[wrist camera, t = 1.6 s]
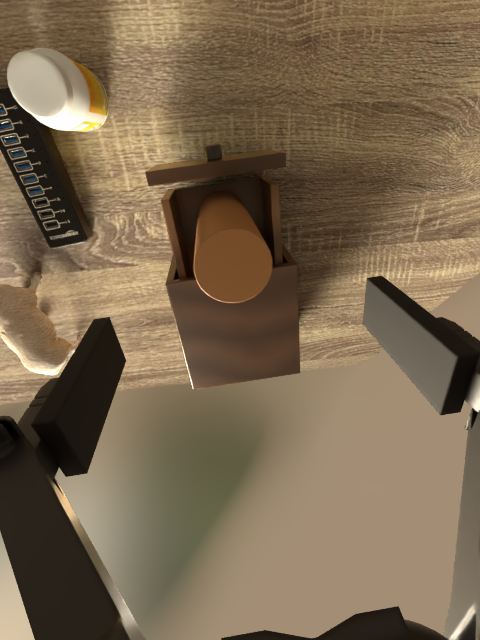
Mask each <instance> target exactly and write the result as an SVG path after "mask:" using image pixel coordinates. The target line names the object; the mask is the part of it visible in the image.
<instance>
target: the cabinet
mask: <svg viewBox="0 0 480 640" xmlns="http://www.w3.org/2000/svg"><path fill="white" fill-rule="evenodd" d="M282 258H283V264H278V265H272V273H271V276H270V279H269V281H268V283H267V285H266V286H265V287H264V289H263V290H262V291H261V292H260V293H258V294H257V295H256V296H254V297H253V298H251V299H249V300H246V301H243V302H239V303H226V302H221V301H218V300H216V299H214V298H212V297H210V296H209V295H207V294H206V293H205V292H204V291H203V290H202V289H201V287H200V286H199V284H198V283H197V280H196V278H195V277H191V278H184V279H179V276H178V272H177V268H176V263H175V259H174V255H173V258H172V261H171V265H170V269H169V273H168V277H167V281H166V288H167V292H168V296H169V299H170V303H171V307H172V311H173V315H174V318H175V322H176V326H177V330H178V334H179V337H180V341H181V345H182V349H183V353H184V356H185V360H186V364H187V368H188V372H189V375H190V379H191V383H192V387H193V389H194V390H195V389H201V388H208V387H213V386H220V385H227V384H233V383H240V382H245V381H252V380H259V379H265V378H271V377H278V376H284V375H291V374H297V373H300V350H299V309H298V268H297V263H296V262H295V260H294V259H293V258H292V256H291V255H290V253H289V252H288V251H287V249H286V248H285V246H284V245H283V244H282Z"/></svg>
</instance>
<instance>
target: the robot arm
mask: <svg viewBox="0 0 480 640" xmlns="http://www.w3.org/2000/svg"><path fill="white" fill-rule="evenodd" d="M363 325H364V326H365V327H366V328H367V330H368V331H369V332H370V333H371V334H372V335H373V337H374V338H375V339H376V340H377V341H378V343H379V344H380V345H381V346H382V347H383V348H384V350H385V351H386V352H387V353H388V354H389V355H390V356H391V358H392V359H393V360H394V361H395V362H396V364H397V365H398V366H399V367H400V368H401V369H402V371H403V372H404V373H405V374H406V375H407V377H408V378H409V379H410V380H411V381H412V383H413V384H414V385H415V386H416V387H417V388H418V390H420V392H421V393H422V394H423V395H424V397H425V398H426V399H427V400H428V401H429V403H430V404H431V405H432V406H433V407H434V408H435V410H436V411H437V412H438V413H439V414H440V415H445V414H452V413H458V412H461V409H462V406H463V403H464V400H465V401H466V402H467V403H468V404H469V405H470V406H471V407H472V410H471V413H470V415H469V418H468V421H467V424H466V426H465V429H466V430H468V437H467V447H466V457H465V467H464V475H463V485H462V496H461V505H460V515H459V524H458V534H457V543H456V554H455V563H454V573H453V583H452V592H451V601H450V606H449V610H448V614H447V618H446V621H445V626H444V632H443V635H441V634H439V633H438V632H436V631H434V630H432V629H430V628H428V627H425V626H423V625H421V624H418V623H415V622H412V621H409V620H404V619H403V616H402V614H401V611H400V609H399V607H392V608H387V609H381V610H375V611H370V612H364V613H359V614H355V615H353V616H352V617H350V618H349V619H347V620H345V621H343V622H342V623H340V624H338V625H337V626H335V627H334V628H332V629H330V630H329V631H327V632H325V633H324V634H322V635H320V636H319V637H317V638H305V637H300V636H294V635H289V634H283V633H277V632H272V631H266V630H264V631H259V632H253V633H247V634H242V635H236V636H231V637H225V638H221V640H480V341H479V340H478V339H476V338H475V337H472V335H471V334H470V333H468V332H467V331H464V329H463V328H462V327H460V326H458V325H457V324H456V323H455V322H452V321H450V320H447V319H445V318H443V317H440V318H435V317H434V316H433V315H431V314H430V313H429V312H428V311H426V310H425V309H424V308H422V307H421V306H420V305H419V304H417V303H416V302H415V301H413V300H412V299H411V298H410V297H408V296H407V295H406V294H404V293H403V292H402V291H401V290H399V289H398V288H397V287H396V286H394V285H393V284H392V283H390V282H389V281H388V280H387V279H385V278H384V277H383V276H377V277H370V278H367V284H366V295H365V305H364V315H363ZM125 362H126V359H125V356H124V354H123V351H122V349H121V346H120V343H119V341H118V338H117V336H116V333H115V330H114V328H113V325H112V323H111V320H110V318H109V317H106V318H100V319H94V320H93V322H92V323H91V325H90V327H89V328H88V330H87V332H86V333H85V335H84V337H83V338H82V340H81V342H80V343H79V345H78V347H77V348H76V350H75V352H74V353H73V355H72V357H71V358H70V360H69V362H68V363H67V365H66V367H65V368H64V370H63V372H62V373H61V375H60V377H59V378H53V379H50V380H49V381H48V382H47V383H46V384H45V385H44V386H42V387H41V388H40V390H39V391H38V393H37V394H36V396H35V399H34V400H33V401H32V402H31V404H30V405H29V408H28V409H27V410H26V412H25V413H24V415H23V416H22V418H21V419H20V421H19V422H18V424H16V422H15V421H14V420H13V418H11V417H10V416H0V531H1V534H2V538H3V541H4V544H5V547H6V550H7V553H8V556H9V559H10V563H11V566H12V569H13V572H14V575H15V578H16V581H17V584H18V588H19V591H20V594H21V597H22V601H23V603H24V607H25V610H26V613H27V616H28V619H29V623H30V626H31V628H32V632H33V635H34V638H35V640H146V639H145V637H144V636H143V634H142V632H141V630H140V628H139V627H138V625H137V623H136V621H135V620H134V618H133V616H132V614H131V612H130V610H129V609H128V607H127V605H126V603H125V602H124V600H123V598H122V597H121V595H120V593H119V591H118V589H117V587H116V585H115V584H114V582H113V580H112V578H111V576H110V575H109V573H108V571H107V569H106V568H105V566H104V564H103V562H102V560H101V559H100V557H99V555H98V553H97V551H96V550H95V548H94V546H93V544H92V542H91V541H90V539H89V537H88V535H87V534H86V532H85V530H84V528H83V526H82V525H81V523H80V521H79V519H78V518H77V516H76V514H75V512H74V510H73V509H72V507H71V505H70V503H69V502H68V499H67V498H66V496H65V494H64V492H63V491H62V489H61V487H60V485H59V483H58V482H57V480H56V479H55V478H54V477H55V475H56V473H57V471H58V468H59V467H60V469H61V470H62V472H63V473H64V475H65V476H66V477H67V476H73V475H80V474H85V473H87V472H88V469H89V466H90V463H91V460H92V458H93V455H94V452H95V449H96V446H97V443H98V440H99V437H100V434H101V432H102V429H103V426H104V423H105V420H106V417H107V414H108V411H109V408H110V406H111V403H112V400H113V397H114V394H115V391H116V388H117V385H118V383H119V380H120V377H121V374H122V371H123V368H124V365H125Z"/></svg>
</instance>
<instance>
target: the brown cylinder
mask: <svg viewBox="0 0 480 640" xmlns="http://www.w3.org/2000/svg"><path fill="white" fill-rule="evenodd" d="M271 273H272V256H271V252H270V250H269V248H268V246H267V244H266V243H265V241H264V239H263V237H262V236H261V234H260V232H259V230H258V228H257V227H256V225H255V223H254V221H253V220H252V218H251V216H250V214H249V213H248V211H247V209H246V207H245V206H244V204H243V202H242V201H241V200H240V199H239V198H238V197H237V196H236V195H234V194H232V193H230V192H226V191H218V192H214V193H212V194H210V195H208V196H207V197H206V198H205V199H204V200H203V201H202V203H201V205H200V207H199V210H198V218H197V229H196V241H195V253H194V274H195V278H196V280H197V283H198V284H199V286H200V287H201V289H202V290H203V291H204V292H205V293H206V294H207V295H209V296H210V297H212V298H214V299H216V300H218V301H221V302H226V303H239V302H243V301H246V300H249V299H251V298H253V297H254V296H256V295H257V294H258V293H260V292H261V291H262V290H263V289H264V287H265V286H266V285H267V283H268V281H269V279H270V276H271Z"/></svg>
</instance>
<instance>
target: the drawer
mask: <svg viewBox="0 0 480 640" xmlns="http://www.w3.org/2000/svg"><path fill="white" fill-rule="evenodd" d="M204 148H205V154H206V158H203V159H196V160H189V161H182V162H175V163H168V164H160V165H156V166H154V167H153V168H151V169H150V170H148V171H146V172H145V173H146V177H147V181H148V185H149V186H157V185H164V184H171V183H178V182H185V181H192V180H199V179H206V178H214V177H221V176H228V175H235V174H242V173H249V172H256V171H263V170H270V169H277V168H284V167H286V153H285V152H281V151H276V150H272V149H268V150H261V151H254V152H246V153H239V154H232V155H225V156H222V149H221V144H217V145H210V146H205V147H204ZM218 191H226V192H230V193H232V194H234V195H236V196H237V197H238V198H239V199H240V200H241V201H242V202H243V204H244V206H245V207H246V209H247V211H248V213H249V214H250V216H251V218H252V220H253V221H254V223H255V225H256V227H257V228H258V230H259V232H260V234H261V236H262V237H263V239H264V241H265V243H266V244H267V246H268V248H269V250H270V252H271V256H272V265H278V264H283V258H282V238H281V218H280V198H279V184H278V183H277V182H275V181H274V180H272V179H271V178H269V177H267V176H260V177H253V178H246V179H239V180H232V181H225V182H218V183H211V184H204V185H197V186H190V187H182V188H175V189H169V190H168V191H167V192H166V194H165V195H164V197H163V198H162V200H161V204H162V208H163V213H164V217H165V221H166V225H167V230H168V234H169V238H170V242H171V246H172V251H173V255H174V259H175V263H176V268H177V272H178V276H179V279H184V278H191V277H195V274H194V253H195V241H196V229H197V218H198V210H199V207H200V205H201V203H202V201H203V200H204V199H205V198H206V197H207V196H208V195H210V194H212V193H214V192H218Z"/></svg>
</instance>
